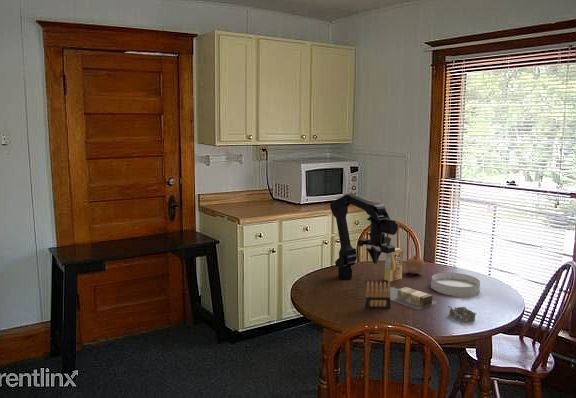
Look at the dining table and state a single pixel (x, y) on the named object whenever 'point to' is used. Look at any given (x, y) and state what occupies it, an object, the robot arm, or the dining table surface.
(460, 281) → the dish
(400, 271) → the candy box
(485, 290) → the dining table surface
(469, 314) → the dark green lumpy clump
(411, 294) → the birch block
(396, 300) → the rubber mat
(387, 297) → the ammunition clip
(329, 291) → the dining table surface
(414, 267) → the onion
